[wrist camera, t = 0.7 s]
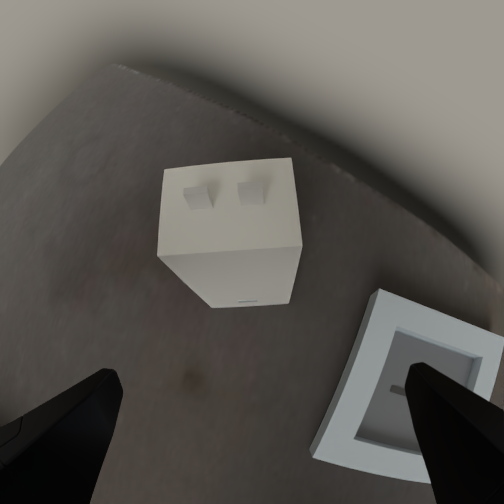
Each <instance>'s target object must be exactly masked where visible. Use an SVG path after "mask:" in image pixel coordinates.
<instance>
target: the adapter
mask: <svg viewBox="0 0 504 504" xmlns="http://www.w3.org/2000/svg"><path fill="white" fill-rule="evenodd" d="M301 251H302V237H301V228H300V220H299V211H298V203H297V196H296V188H295V180H294V173H293V166H292V159H291V158H276V159H261V160H248V161H236V162H225V163H215V164H205V165H196V166H188V167H180V168H172V169H164V178H163V187H162V198H161V209H160V221H159V235H158V252H157V256H158V257H159V258H160V259H161V260H162V261H163V262H164V263H165V264H166V265H167V266H168V267H169V268H170V269H171V270H172V271H173V272H174V273H175V274H176V275H177V276H178V277H179V278H180V279H182V280H183V281H184V282H185V283H186V284H187V285H188V286H189V287H190V288H191V289H192V290H193V291H194V292H195V293H196V294H197V295H199V296H200V297H201V298H202V299H203V300H204V301H205V302H206V303H207V304H208V305H209V306H210V307H212V308H225V307H244V306H261V305H276V304H289V301H290V297H291V293H292V289H293V285H294V280H295V276H296V272H297V268H298V264H299V259H300V255H301Z"/></svg>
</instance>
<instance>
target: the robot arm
mask: <svg viewBox="0 0 504 504" xmlns="http://www.w3.org/2000/svg"><path fill="white" fill-rule="evenodd" d="M404 388H405V394H406V398H407V402H408V406H409V411H410V415H411V420H412V424H413V428H414V432H415V435H416V438H417V441H418V444H419V447H420V450H421V453H422V456H423V459H424V462H425V465H426V469H427V472H428V475H429V478H430V482H431V485H432V489H433V492H434V495H435V499H436V503H437V504H504V411H503V409H501V408H499V407H498V406H496V405H494V404H493V403H491V402H489V401H488V400H486V399H484V398H483V397H481V396H479V395H478V394H476V393H474V392H473V391H471V390H469V389H468V388H466V387H464V386H463V385H461V384H459V383H458V382H456V381H454V380H453V379H451V378H449V377H448V376H446V375H444V374H443V373H441V372H439V371H438V370H436V369H434V368H433V367H431V366H429V365H428V364H426V363H424V362H418V363H413V364H411V365H410V367H409V371H408V374H407V378H406V381H405V386H404ZM122 397H123V389H122V386H121V383H120V380H119V378H118V375H117V372H116V371H115V370H113V369H107V368H103V369H101V370H99V371H98V372H96V373H94V374H93V375H91V376H89V377H88V378H86V379H84V380H83V381H81V382H79V383H77V384H76V385H74V386H72V387H71V388H69V389H67V390H66V391H64V392H62V393H61V394H59V395H57V396H55V397H54V398H52V399H50V400H49V401H47V402H45V403H43V404H42V405H40V406H38V407H37V408H35V409H33V410H31V411H30V412H28V413H26V414H24V415H23V416H21V417H19V418H17V419H16V420H14V421H12V422H10V423H8V424H7V425H5V426H3V427H1V428H0V504H90V500H91V497H92V494H93V491H94V488H95V485H96V482H97V479H98V476H99V473H100V470H101V467H102V464H103V461H104V459H105V456H106V453H107V450H108V447H109V444H110V442H111V439H112V436H113V433H114V429H115V425H116V421H117V417H118V413H119V409H120V405H121V401H122Z"/></svg>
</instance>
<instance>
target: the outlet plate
mask: <svg viewBox="0 0 504 504" xmlns="http://www.w3.org/2000/svg"><path fill="white" fill-rule="evenodd" d="M503 346H504V337H501V336H499V335H496V334H494V333H491V332H489V331H486V330H484V329H481V328H479V327H476V326H474V325H471V324H469V323H466V322H464V321H461V320H459V319H456V318H454V317H451V316H448V315H446V314H443V313H441V312H438V311H436V310H433V309H431V308H428V307H426V306H423V305H421V304H418V303H415V302H413V301H410V300H408V299H405V298H403V297H400V296H397V295H395V294H392V293H390V292H387V291H385V290H382V289H378V290H377V291H376V292H374V293H373V294H372V295H370V298H369V301H368V304H367V308H366V311H365V314H364V317H363V320H362V322H361V325H360V328H359V331H358V334H357V337H356V340H355V342H354V345H353V348H352V350H351V353H350V356H349V358H348V361H347V364H346V366H345V369H344V371H343V374H342V376H341V379H340V381H339V384H338V386H337V389H336V391H335V393H334V396H333V398H332V400H331V403H330V405H329V407H328V409H327V412H326V414H325V416H324V418H323V421H322V423H321V425H320V427H319V429H318V431H317V434H316V436H315V438H314V440H313V442H312V444H311V446H310V448H309V450H310V453H311V455H312V457H313V458H316V459H319V460H322V461H326V462H329V463H333V464H337V465H340V466H344V467H348V468H352V469H356V470H360V471H364V472H369V473H373V474H378V475H383V476H388V477H393V478H398V479H404V480H410V481H416V482H423V483H431V482H430V478H429V475H428V472H427V469H426V465H425V462H424V459H423V456H422V453H421V450H420V447H419V444H418V441H417V438H416V435H415V432H414V428H413V424H412V420H411V415H410V411H409V406H408V402H407V398H406V394H405V388H404V386H405V381H406V378H407V374H408V371H409V367H410V365H411V364H413V363H418V362H424V363H426V364H428V365H429V366H431V367H433V368H434V369H436V370H438V371H439V372H441V373H443V374H444V375H446V376H448V377H449V378H451V379H453V380H454V381H456V382H458V383H459V384H461V385H463V386H464V387H466V388H468V389H469V390H471V391H473V392H474V393H476V394H478V395H479V396H481V397H483V398H484V399H486V400H488V401H489V400H490V397H491V394H492V390H493V387H494V383H495V380H496V376H497V372H498V368H499V364H500V360H501V355H502V351H503Z"/></svg>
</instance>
